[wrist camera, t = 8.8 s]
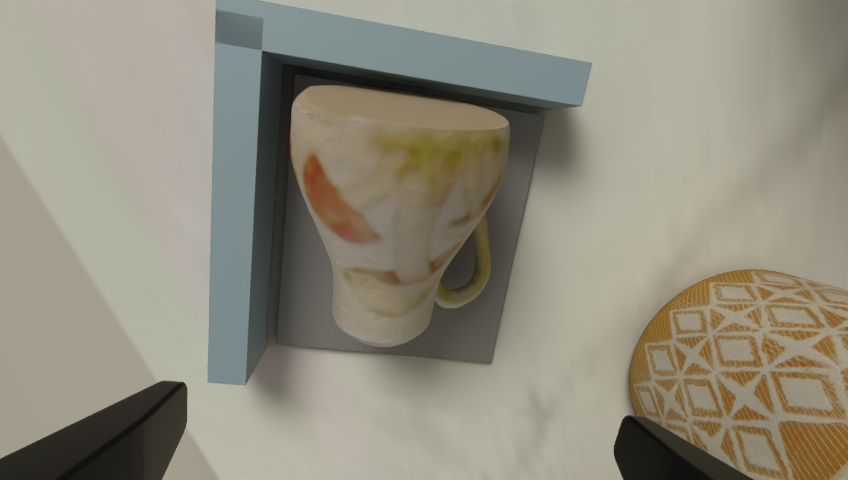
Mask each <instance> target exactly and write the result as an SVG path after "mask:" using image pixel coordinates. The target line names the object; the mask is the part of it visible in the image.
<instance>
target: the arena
mask: <svg viewBox="0 0 848 480" xmlns="http://www.w3.org/2000/svg"><path fill="white" fill-rule="evenodd" d="M283 63H284V64H290V65H296V66H302V67H307V68H313V69H319V70H325V71H331V72H337V73H342V74H348V75H354V76H360V77H366V78H372V79H378V80H383V81H389V82H395V83H401V84H407V85H413V86H418V87H424V88H430V89H436V90H442V91H448V92H454V93H459V94H465V95H471V96H477V97H483V98H489V99H494V100H500V101H506V102H512V103H518V104H524V105H530V106H535V107H541V108H547V109H558V108H568V107H578V106H582V104H583V100H584V95H585V91H586V87H587V83H588V79H589V74H590V70H591V66H592V63H589V62H584V61H578V60H573V59H568V58H562V57H557V56H552V55H546V54H541V53H536V52H530V51H525V50H520V49H514V48H509V47H504V46H498V45H493V44H488V43H482V42H477V41H472V40H466V39H461V38H456V37H451V36H445V35H440V34H435V33H429V32H424V31H419V30H413V29H408V28H403V27H397V26H392V25H387V24H381V23H376V22H371V21H365V20H360V19H355V18H349V17H344V16H339V15H333V14H328V13H323V12H318V11H312V10H307V9H302V8H296V7H291V6H286V5H280V4H275V3H270V2H264V1H259V0H216V27H215V72H214V117H213V162H212V207H211V252H210V298H209V343H208V383H221V384H234V385H246V383H247V382H248V380H249V378H250V376H251V374H252V372H253V371H254V369H255V367H256V365H257V363H258V361H259V360H260V358H261V356H262V354H263V352H264V350H265V349H266V336H267V319H268V303H269V287H270V270H271V254H272V238H273V221H274V205H275V189H276V172H277V156H278V140H279V124H280V107H281V91H282V75H283Z"/></svg>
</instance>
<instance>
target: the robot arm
mask: <svg viewBox="0 0 848 480" xmlns="http://www.w3.org/2000/svg"><path fill="white" fill-rule="evenodd" d="M186 423H187V386H186V384H185V383H184V382H176V381H161V382H158V383H156V384H154V385H152V386H150V387H148V388H146V389H144V390H142V391H140V392H138V393H136V394H134V395H131V396H129V397H127V398H125V399H123V400H121V401H119V402H117V403H115V404H113V405H111V406H109V407H107V408H105V409H102V410H101V411H99V412H96V413H94V414H92V415H90V416H88V417H86V418H84V419H82V420H80V421H78V422H76V423H73V424H71V425H69V426H67V427H65V428H63V429H61V430H59V431H57V432H55V433H53V434H51V435H49V436H47V437H44V438H42V439H40V440H38V441H36V442H34V443H32V444H30V445H28V446H26V447H24V448H22V449H20V450H17V451H15V452H13V453H11V454H9V455H7V456H5V457H3V458H1V459H0V480H162V478H163V476H164V474H165V472H166V470H167V467H168V465H169V463H170V461H171V459H172V457H173V454H174V452H175V450H176V448H177V446H178V444H179V442H180V440H181V437H182V435H183V433H184V430H185V427H186ZM614 457H615V460H616V463H617V465H618V468H619V470H620V473H621V475H622V477H623V480H754V479H752V478H750V477H749V476H747V475H745V474H743V473H742V472H740V471H738V470H736V469H735V468H733V467H731V466H730V465H728V464H726V463H724V462H723V461H721V460H719V459H717V458H716V457H714V456H712V455H711V454H709V453H707V452H705V451H704V450H702V449H700V448H698V447H697V446H695V445H693V444H691V443H690V442H688V441H686V440H685V439H683V438H681V437H679V436H678V435H676V434H674V433H672V432H671V431H669V430H667V429H666V428H664V427H662V426H660V425H659V424H657V423H655V422H653V421H652V420H650V419H648V418H646V417H643V416H631V415H628V416H625V417H624V418H623V420H622V422H621V426H620V429H619V432H618V435H617V438H616V441H615V445H614Z"/></svg>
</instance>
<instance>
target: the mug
mask: <svg viewBox="0 0 848 480" xmlns="http://www.w3.org/2000/svg"><path fill="white" fill-rule="evenodd" d="M509 141H510V126H509V122H508V121H507V120H506V118H505V117H503V116H501V115H500V114H497V113H496V112H493V111H491V110H488V109H485V108H481V107H478V106H474V105H471V104H467V103H463V102H459V101H456V100H452V99H448V98H443V97H437V96H431V95H426V94H420V93H415V92H409V91H403V90H397V89H389V88H380V87H368V86H351V85H323V86H310V87H308V88H307V89H305V90H304V91H303V92H302V93H300V94H299V95H298V96H297V97H296V99H295V101H294V102H293V105H292V113H291V132H290V152H291V159H292V164H293V168H294V172H295V175H296V178H297V181H298V184H299V187H300V190H301V192H302V195H303V197H304V200H305V202H306V204H307V207H308V210H309V212H310V214H311V216H312V218H313V220H314V222H315V225H316V227H317V229H318V232H319V234H320V236H321V239H322V241H323V243H324V245H325V248H326V250H327V253H328V255H329V258H330V261H331V265H332V270H333V303H332V313H333V317H334V319H335V321H336V323H337V325H338V326H339V328H340V329H341V330H342V331H343V332H345V333H347V334H348V335H349V336H350V337H352V338H354V339H355V340H357V341H360V342H362V343H365V344H368V345H371V346H377V347H392V346H397V345H400V344H403V343H406V342H408V341H409V340H411V339H413V338H415V337H417V336H418V335H420V334H421V333H422V332H423V331H424V330H425V329H426V328H427V326H428V324H429V322H430V319H431V315H432V311H433V306H434V301H435V302H436V303H437V304H438V305H440V306H441V307H443V308H458V307H461V306H463V305H464V304H466V303H468V302H470V301H471V300H473V299H475V298H476V297H477V296H478V295H479V294H480V292H481V291H482V290H483V289H484V287H485V285H486V283H487V281H488V279H489V277H490V272H491V255H492V252H491V246H490V240H489V235H488V222H487V217H486V211H487V209H488V208H489V206H490V204H491V203H492V201H493V199H494V197H495V195H496V193H497V191H498V189H499V187H500V184H501V182H502V179H503V176H504V173H505V169H506V164H507V159H508V151H509ZM471 233H472V237H473V241H474V247H475V268H474V273H473V276H472V278H471V279H470V281H469V282H468V283H467V284H466V285H464V286H462V287H459V288H456V289H452V290H448V289H446V288H445V287H444V286H443V284H442V279H441V277H442V275H443V273H444V271H445V270H446V268H447V266H448V265H449V263H450V262H451V260H452V259H453V258H454V256H455V255H456V253H457V252H458V251H459V249H460V248H461V247H462V245H463V244H464V242H465V241H466V239H467V238H468V237H469V235H470V234H471Z"/></svg>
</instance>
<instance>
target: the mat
mask: <svg viewBox="0 0 848 480" xmlns="http://www.w3.org/2000/svg"><path fill="white" fill-rule="evenodd" d="M323 85H351V86H364V85H358V84H352V83H346V82H340V81H334V80H328V79H322V78H316V77H310V76H304V75H298V74H295V79H294V93H293V102H294V101H295V99H296V97H297V96H298V95H299V94H300V93H302V92H303V91H304V90H305V89H307V88H308V87H310V86H323ZM368 87H369V86H368ZM463 103H464V102H463ZM467 104H470V103H467ZM471 105H474V106H478V107H481V108H485V109H488V110H491V111H493V112H496V113H497V114H500V115H501V116H503V117H505V118H506V120H507V121H508V122H509V126H510V141H509V151H508V159H507V164H506V169H505V173H504V176H503V179H502V182H501V184H500V187H499V189H498V191H497V193H496V195H495V197H494V199H493V201H492V203H491V204H490V206H489V208H488V209H487V211H486V217H487V222H488V235H489V240H490V246H491V252H492V255H491V272H490V277H489V279H488V281H487V283H486V285H485V287H484V289H483V290H482V291H481V292H480V294H479V295H478V296H477V297H476V298H475V299H473V300H471V301H470V302H468V303H466V304H464V305H463V306H461V307H458V308H443V307H441V306H440V305H438V304H437V303H436V302H435V301H434V306H433V311H432V315H431V319H430V322H429V324H428V326H427V328H426V329H425V330H424V331H423V332H422V333H421V334H420V335H418V336H417V337H415V338H413V339H411V340H409V341H408V342H406V343H403V344H400V345H397V346H392V347H377V346H371V345H368V344H365V343H362V342H360V341H357V340H355V339H354V338H352V337H350V336H349V335H348V334H347V333H345V332H343V331H342V330H341V329H340V328H339V326H338V325H337V323H336V321H335V319H334V317H333V313H332V303H333V270H332V265H331V261H330V258H329V255H328V253H327V250H326V248H325V245H324V243H323V241H322V239H321V236H320V234H319V232H318V229H317V227H316V225H315V222H314V220H313V218H312V216H311V214H310V212H309V210H308V207H307V204H306V202H305V200H304V197H303V195H302V192H301V190H300V187H299V184H298V181H297V178H296V175H295V172H294V168H293V164H292V159H291V152H289V167H288V181H287V196H286V210H285V225H284V240H283V254H282V269H281V284H280V298H279V313H278V327H277V342H276V344H282V345H293V346H304V347H315V348H327V349H338V350H349V351H360V352H371V353H383V354H394V355H405V356H416V357H427V358H438V359H450V360H461V361H472V362H483V363H491V359H492V354H493V350H494V345H495V340H496V336H497V331H498V327H499V322H500V317H501V313H502V308H503V304H504V299H505V294H506V290H507V285H508V281H509V276H510V271H511V267H512V262H513V258H514V253H515V248H516V244H517V239H518V235H519V230H520V225H521V221H522V216H523V212H524V207H525V202H526V198H527V193H528V188H529V184H530V179H531V175H532V170H533V165H534V161H535V156H536V152H537V147H538V142H539V138H540V133H541V129H542V124H543V119H544V116H542V115H536V114H530V113H524V112H518V111H512V110H506V109H500V108H494V107H488V106H482V105H476V104H471ZM474 268H475V247H474V241H473V237H472V233H471V234H470V235H469V237H468V238H467V239H466V241H465V242H464V244H463V245H462V247H461V248H460V249H459V251H458V252H457V253H456V255H455V256H454V258H453V259H452V260H451V262H450V263H449V265H448V266H447V268H446V270H445V271H444V273H443V275H442V277H441V279H442V284H443V286H444V287H445V288H446V289H448V290H452V289H456V288H459V287H462V286H464V285H466V284H467V283H468V282H469V281H470V279H471V278H472V276H473V273H474Z"/></svg>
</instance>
